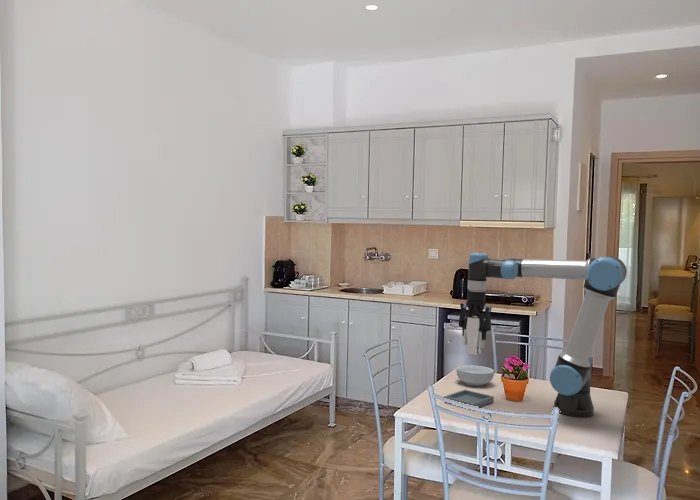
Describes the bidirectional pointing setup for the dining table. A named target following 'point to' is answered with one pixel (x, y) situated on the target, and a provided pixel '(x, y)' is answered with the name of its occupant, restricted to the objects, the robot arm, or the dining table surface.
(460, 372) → the cereal bowl
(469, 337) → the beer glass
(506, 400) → the dining table surface
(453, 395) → the tray
